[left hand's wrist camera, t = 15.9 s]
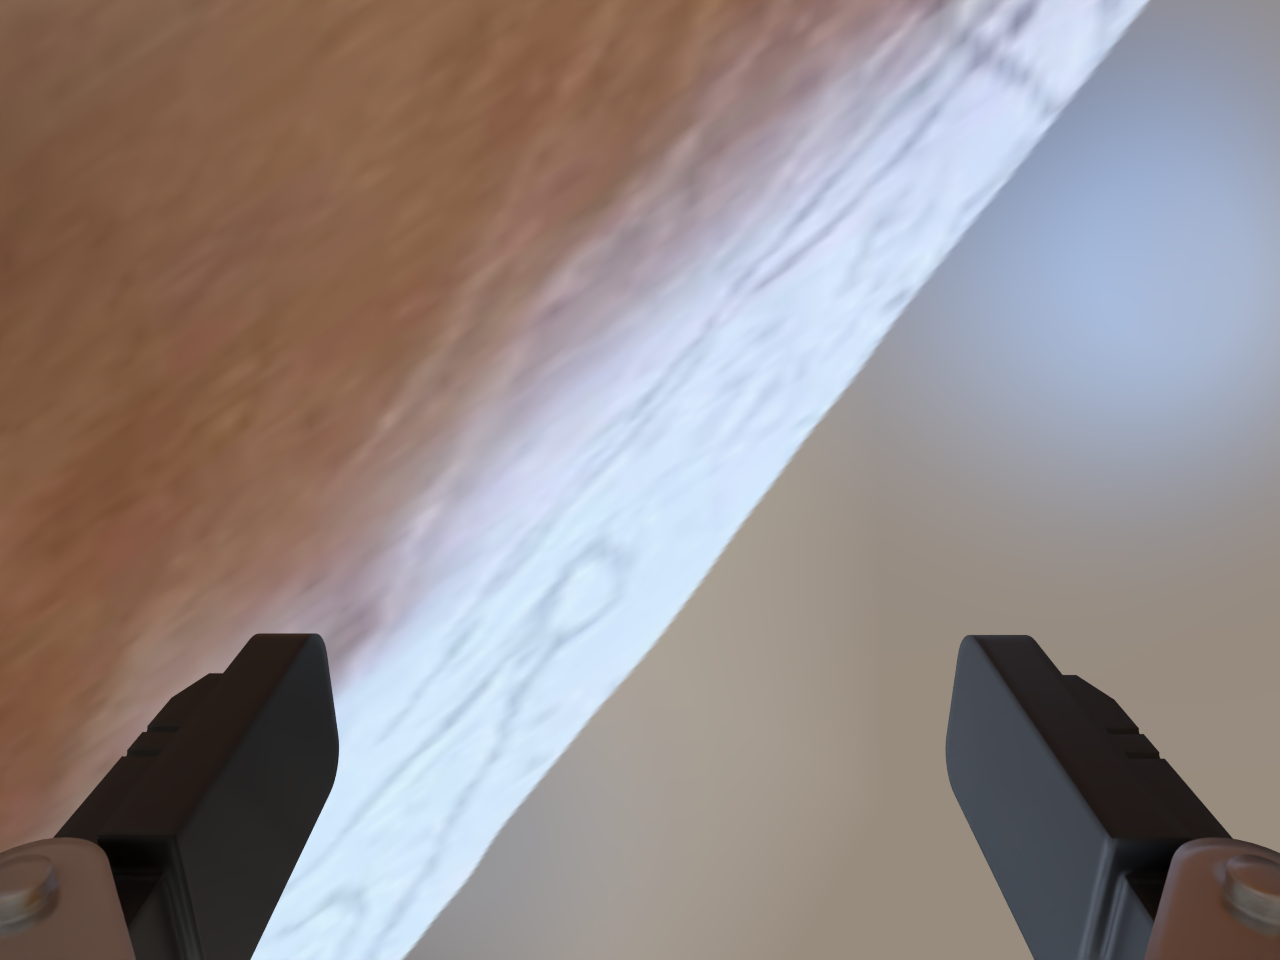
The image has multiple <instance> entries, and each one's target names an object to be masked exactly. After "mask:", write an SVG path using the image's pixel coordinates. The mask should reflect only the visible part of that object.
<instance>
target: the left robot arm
mask: <svg viewBox="0 0 1280 960" xmlns="http://www.w3.org/2000/svg"><path fill="white" fill-rule="evenodd" d="M147 727H148V729H147V732H142V733H141V735H140V736H139V737H138V738H137V739H136V741H135V742H134V743H133V744H132V745H131V746H130V748H129V749H128V750H127V756H126V757H121V758H120V759H119V761H118V762H117V763H116V764H115V765H114V767H113V768H112V769H111V770H110V771H109V772H108V774H107V775H106V776H105V777H104V778H103V780H102V781H101V782H100V783H99V784H98V785H97V787H96V788H95V789H94V790H93V791H92V793H91V794H90V795H89V796H88V797H87V798H86V800H85V801H84V802H83V803H82V804H81V806H80V807H79V808H78V809H77V810H76V811H75V813H74V814H73V815H72V816H71V817H70V819H69V820H68V821H67V822H66V823H65V824H64V826H63V827H62V828H61V829H60V830H59V832H58V833H57V834H56V835H55V836H54V837H53V838H51V839H44V840H39V841H35V842H30V843H26V844H23V845H20V846H17V847H14V848H11V849H9V850H7V851H4V852H2V853H0V960H250V959H251V957H252V955H253V953H254V951H255V949H256V947H257V945H258V943H259V940H260V938H261V936H262V934H263V932H264V930H265V928H266V926H267V924H268V922H269V920H270V917H271V915H272V913H273V911H274V909H275V907H276V905H277V903H278V901H279V899H280V897H281V894H282V892H283V890H284V888H285V886H286V884H287V882H288V880H289V878H290V876H291V874H292V871H293V869H294V867H295V865H296V863H297V861H298V859H299V857H300V855H301V853H302V850H303V848H304V846H305V844H306V842H307V840H308V838H309V836H310V834H311V832H312V830H313V827H314V825H315V823H316V821H317V819H318V817H319V815H320V813H321V811H322V809H323V807H324V804H325V802H326V800H327V798H328V796H329V794H330V792H331V789H332V787H333V784H334V781H335V777H336V772H337V766H338V757H339V739H338V730H337V723H336V716H335V709H334V702H333V694H332V687H331V680H330V673H329V666H328V659H327V652H326V647H325V644H324V641H323V639H322V637H321V636H320V635H319V634H256V635H254V636H253V637H252V638H251V639H250V640H249V641H248V642H247V644H246V645H245V646H244V648H243V649H242V650H241V651H240V653H239V654H238V655H237V656H236V658H235V659H234V660H233V662H232V663H231V664H230V665H229V667H228V668H227V669H226V670H225V672H224V673H209V674H208V675H206V676H205V677H203V678H201V679H200V680H198V681H197V682H195V683H194V684H192V685H191V686H189V687H188V688H186V689H184V690H183V691H181V692H180V693H178V694H177V695H175V696H174V697H172V698H171V699H170V700H169V702H168V703H167V704H166V705H165V706H164V707H163V709H162V710H161V711H160V712H159V713H158V715H157V716H156V717H155V718H154V719H153V720H152V722H151V723H150V724H149V725H148V726H147ZM946 763H947V770H948V776H949V780H950V784H951V787H952V790H953V792H954V794H955V796H956V798H957V801H958V803H959V805H960V807H961V809H962V811H963V813H964V815H965V817H966V819H967V821H968V823H969V825H970V827H971V830H972V832H973V834H974V836H975V838H976V840H977V842H978V844H979V846H980V848H981V850H982V852H983V854H984V856H985V858H986V861H987V863H988V865H989V867H990V869H991V871H992V873H993V875H994V877H995V879H996V881H997V883H998V885H999V887H1000V889H1001V891H1002V894H1003V896H1004V898H1005V900H1006V902H1007V904H1008V906H1009V908H1010V910H1011V912H1012V914H1013V916H1014V918H1015V920H1016V922H1017V925H1018V926H1019V929H1020V931H1021V933H1022V935H1023V937H1024V939H1025V941H1026V943H1027V945H1028V947H1029V949H1030V951H1031V954H1032V956H1033V958H1034V960H1280V853H1278V852H1276V851H1273V850H1271V849H1269V848H1266V847H1262V846H1260V845H1257V844H1254V843H1250V842H1245V841H1241V840H1236V839H1233V838H1232V837H1231V836H1230V835H1229V834H1228V832H1227V831H1226V830H1225V829H1224V828H1223V827H1222V825H1221V824H1220V823H1219V822H1218V821H1217V820H1216V818H1215V817H1214V816H1213V815H1212V814H1211V813H1210V811H1209V810H1208V809H1207V808H1206V807H1205V805H1204V804H1203V803H1202V802H1201V801H1200V800H1199V798H1198V797H1197V796H1196V795H1195V794H1194V793H1193V791H1192V790H1191V789H1190V788H1189V787H1188V786H1187V784H1186V783H1185V782H1184V781H1183V780H1182V779H1181V777H1180V776H1179V775H1178V774H1177V773H1176V771H1175V770H1174V769H1173V768H1172V767H1171V766H1170V764H1169V763H1168V762H1167V761H1166V760H1165V759H1160V757H1159V752H1158V750H1157V749H1156V748H1155V747H1154V746H1153V745H1152V743H1151V742H1150V741H1149V740H1148V739H1147V738H1146V736H1145V735H1144V734H1139V728H1138V727H1137V726H1136V725H1135V724H1134V722H1133V721H1132V720H1131V719H1130V718H1129V717H1128V715H1127V714H1126V713H1125V712H1124V711H1123V709H1122V708H1121V707H1120V706H1119V705H1118V704H1117V702H1116V701H1115V700H1114V699H1112V698H1111V697H1109V696H1108V695H1106V694H1105V693H1103V692H1102V691H1100V690H1098V689H1097V688H1095V687H1094V686H1092V685H1091V684H1089V683H1088V682H1086V681H1085V680H1083V679H1081V678H1080V677H1078V676H1077V675H1062V674H1061V672H1060V671H1059V670H1058V669H1057V668H1056V666H1055V665H1054V664H1053V662H1052V661H1051V660H1050V659H1049V657H1048V656H1047V655H1046V654H1045V652H1044V651H1043V650H1042V649H1041V647H1040V646H1039V645H1038V644H1037V642H1036V641H1035V640H1034V639H1033V638H1032V637H1030V636H1028V635H968V636H966V637H964V639H963V640H962V642H961V645H960V648H959V652H958V659H957V666H956V673H955V680H954V687H953V694H952V701H951V708H950V715H949V722H948V729H947V737H946Z"/></svg>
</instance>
